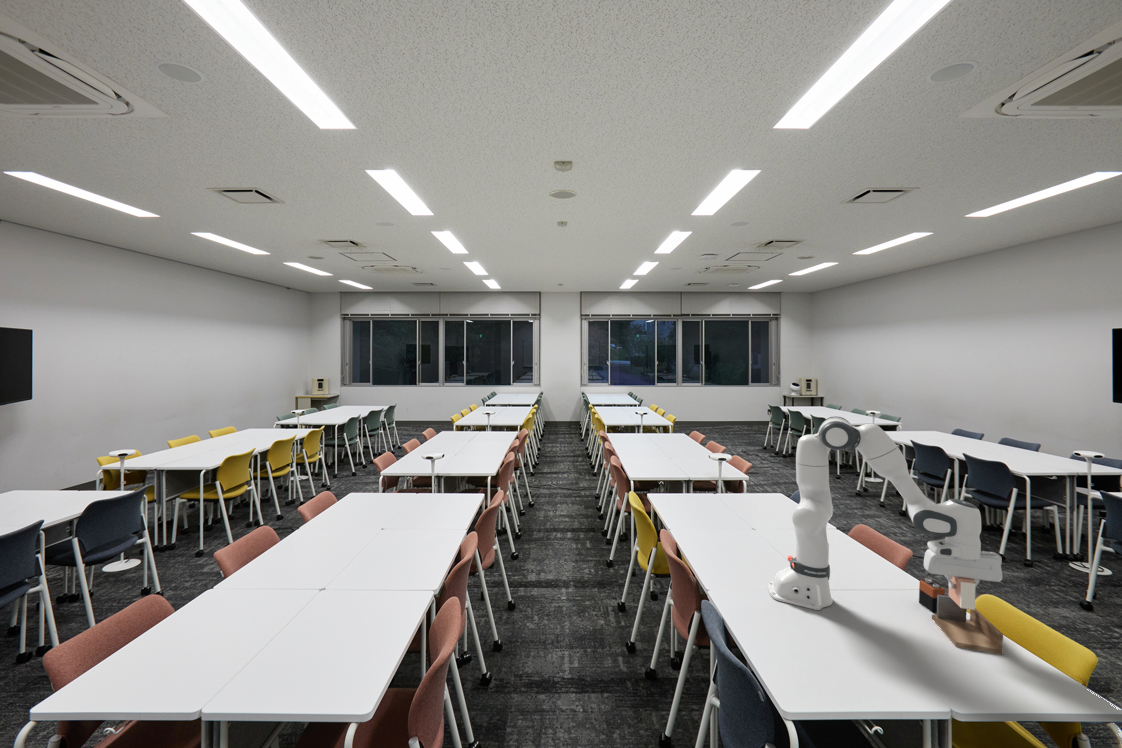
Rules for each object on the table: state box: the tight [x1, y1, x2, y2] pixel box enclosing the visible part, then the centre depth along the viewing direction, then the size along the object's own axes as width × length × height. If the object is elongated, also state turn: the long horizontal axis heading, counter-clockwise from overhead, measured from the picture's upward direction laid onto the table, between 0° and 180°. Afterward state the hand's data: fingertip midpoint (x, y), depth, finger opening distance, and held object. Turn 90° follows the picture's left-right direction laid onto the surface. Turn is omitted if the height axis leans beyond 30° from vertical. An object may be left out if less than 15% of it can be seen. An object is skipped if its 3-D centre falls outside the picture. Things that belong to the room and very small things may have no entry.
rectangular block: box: [948, 576, 976, 610], centre depth 148 cm, size 4×8×9 cm, turn 161°
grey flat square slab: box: [936, 595, 968, 622], centre depth 154 cm, size 8×1×8 cm, turn 71°
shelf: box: [931, 607, 1004, 655], centre depth 148 cm, size 12×16×6 cm
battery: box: [918, 577, 946, 614], centre depth 164 cm, size 4×7×10 cm, turn 179°
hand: (961, 589), depth 148 cm, fingers closed on rectangular block, 3 cm apart
